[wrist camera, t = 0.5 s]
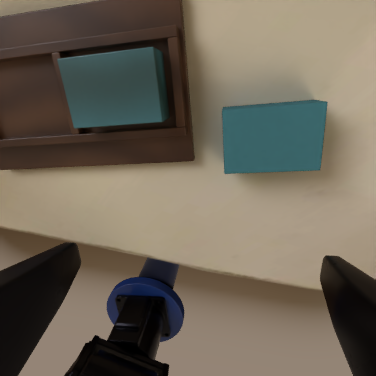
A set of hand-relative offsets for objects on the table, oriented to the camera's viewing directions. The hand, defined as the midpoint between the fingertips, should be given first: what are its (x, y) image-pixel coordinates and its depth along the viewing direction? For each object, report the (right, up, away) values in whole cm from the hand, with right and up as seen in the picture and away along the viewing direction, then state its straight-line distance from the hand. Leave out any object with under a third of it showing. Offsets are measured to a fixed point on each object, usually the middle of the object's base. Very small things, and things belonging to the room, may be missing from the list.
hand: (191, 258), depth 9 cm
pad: (+7, +8, +15) cm, 18 cm away
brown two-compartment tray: (-11, +12, +16) cm, 22 cm away
